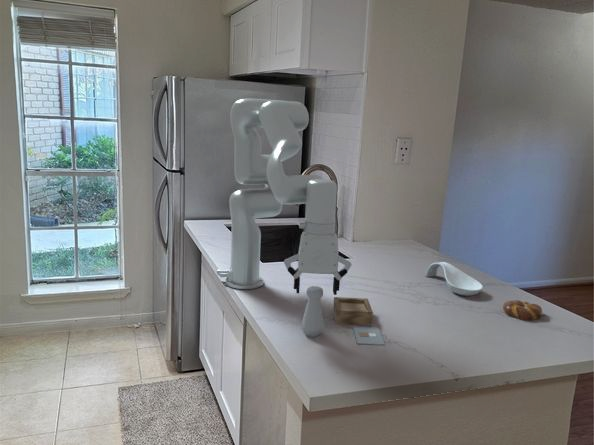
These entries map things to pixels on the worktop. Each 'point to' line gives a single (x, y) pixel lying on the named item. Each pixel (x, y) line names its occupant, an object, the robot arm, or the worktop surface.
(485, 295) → the worktop surface
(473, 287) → the spoon rest
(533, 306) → the pretzel
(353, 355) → the worktop surface
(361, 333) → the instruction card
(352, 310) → the wooden crate
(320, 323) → the salt shaker
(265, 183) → the robot arm
